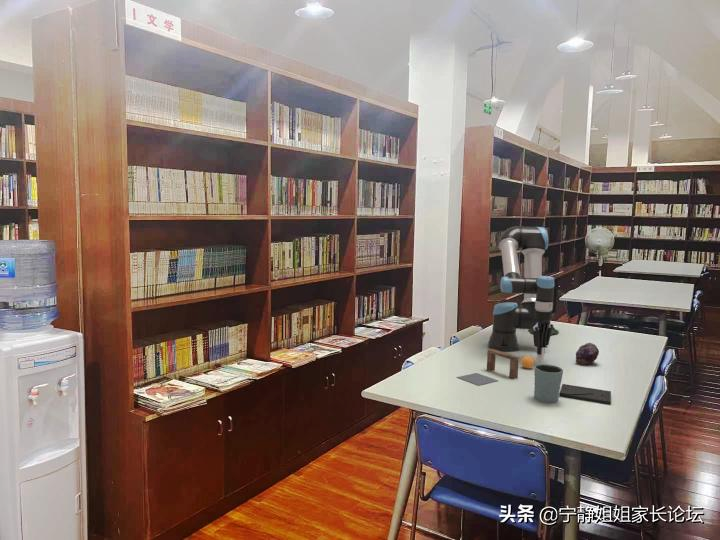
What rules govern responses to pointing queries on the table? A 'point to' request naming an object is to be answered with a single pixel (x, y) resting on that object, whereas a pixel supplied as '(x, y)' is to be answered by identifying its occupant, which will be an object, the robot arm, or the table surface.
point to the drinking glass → (547, 383)
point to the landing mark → (477, 379)
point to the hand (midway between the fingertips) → (540, 361)
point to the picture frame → (585, 394)
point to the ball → (527, 362)
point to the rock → (587, 354)
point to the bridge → (513, 359)
